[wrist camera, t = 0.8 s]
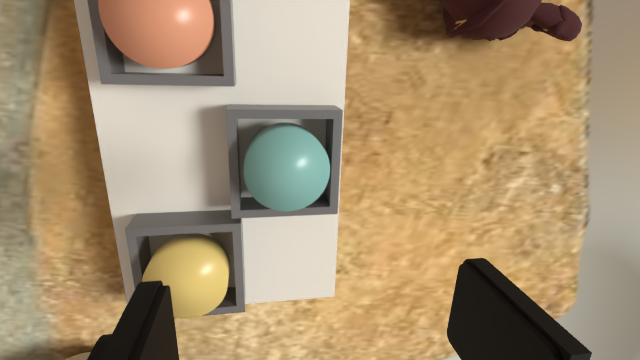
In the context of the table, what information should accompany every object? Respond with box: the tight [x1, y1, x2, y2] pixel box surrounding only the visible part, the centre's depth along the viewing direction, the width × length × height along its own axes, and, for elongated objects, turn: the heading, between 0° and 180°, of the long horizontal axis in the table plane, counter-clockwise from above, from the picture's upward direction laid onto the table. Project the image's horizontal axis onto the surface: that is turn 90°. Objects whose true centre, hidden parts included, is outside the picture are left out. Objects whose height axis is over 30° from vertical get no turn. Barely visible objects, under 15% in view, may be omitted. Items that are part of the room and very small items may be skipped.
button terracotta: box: [98, 0, 215, 69], centre depth 20 cm, size 6×6×2 cm
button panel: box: [74, 0, 350, 316], centre depth 26 cm, size 26×17×6 cm, turn 178°
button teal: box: [244, 122, 330, 212], centre depth 24 cm, size 6×6×2 cm
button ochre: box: [142, 233, 230, 319], centre depth 25 cm, size 6×6×2 cm
